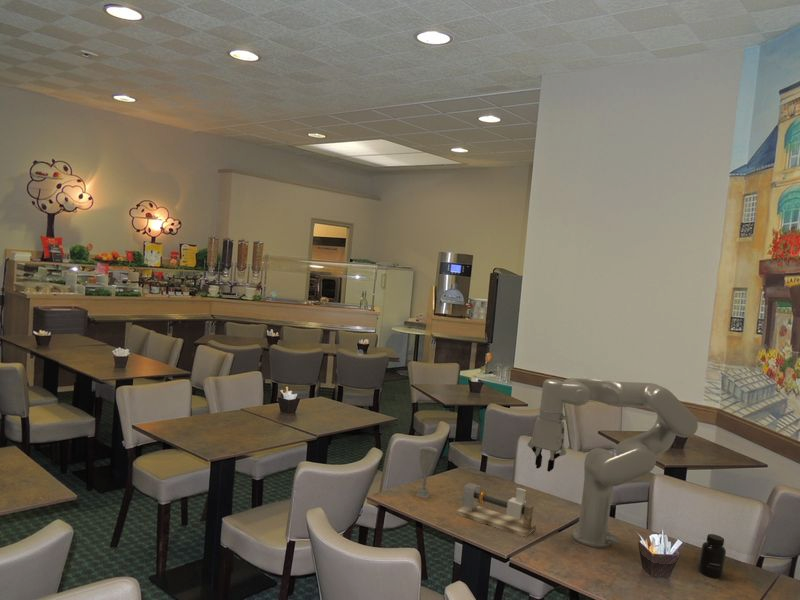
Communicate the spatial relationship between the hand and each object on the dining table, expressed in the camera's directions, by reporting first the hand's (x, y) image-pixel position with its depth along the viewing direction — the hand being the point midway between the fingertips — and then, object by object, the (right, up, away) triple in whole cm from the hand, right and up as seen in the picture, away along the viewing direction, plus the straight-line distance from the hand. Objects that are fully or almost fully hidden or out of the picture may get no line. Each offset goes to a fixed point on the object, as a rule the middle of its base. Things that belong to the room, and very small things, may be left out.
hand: (544, 468), depth 216 cm
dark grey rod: (-15, -15, +9) cm, 23 cm away
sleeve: (-9, -18, +5) cm, 20 cm away
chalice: (-40, -18, +27) cm, 52 cm away
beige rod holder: (-15, -21, +9) cm, 28 cm away
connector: (-23, -19, +14) cm, 32 cm away
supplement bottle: (+50, -30, -14) cm, 60 cm away
